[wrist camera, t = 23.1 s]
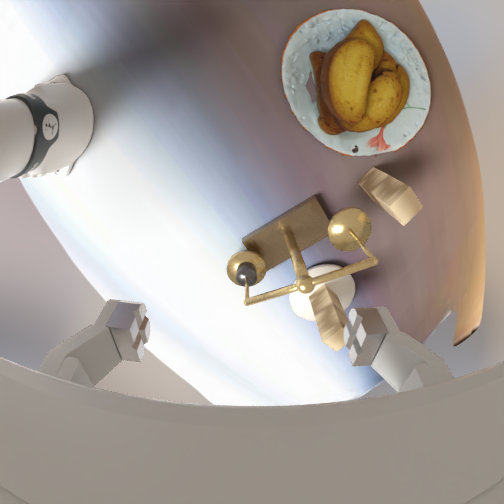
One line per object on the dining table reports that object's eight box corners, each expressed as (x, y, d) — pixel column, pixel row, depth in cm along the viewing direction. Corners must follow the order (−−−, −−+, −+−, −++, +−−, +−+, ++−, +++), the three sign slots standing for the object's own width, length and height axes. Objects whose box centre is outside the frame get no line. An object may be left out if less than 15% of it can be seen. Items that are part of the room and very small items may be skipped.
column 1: (321, 307, 54) (336, 351, 43) (308, 296, 53) (322, 341, 42) (336, 294, 53) (355, 337, 42) (324, 283, 51) (342, 327, 41)
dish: (285, 316, 57) (286, 321, 55) (293, 261, 51) (294, 265, 49) (344, 315, 57) (346, 319, 56) (359, 262, 51) (362, 266, 50)
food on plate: (435, 134, 40) (457, 140, 34) (317, 176, 44) (328, 187, 38) (388, 4, 28) (406, -6, 23) (253, 33, 33) (255, 21, 27)
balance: (242, 280, 52) (242, 357, 36) (219, 252, 49) (209, 325, 33) (355, 214, 47) (406, 270, 30) (338, 180, 44) (389, 224, 27)
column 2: (370, 198, 45) (403, 226, 35) (357, 182, 44) (389, 206, 33) (386, 183, 44) (422, 207, 33) (373, 167, 43) (409, 186, 32)
